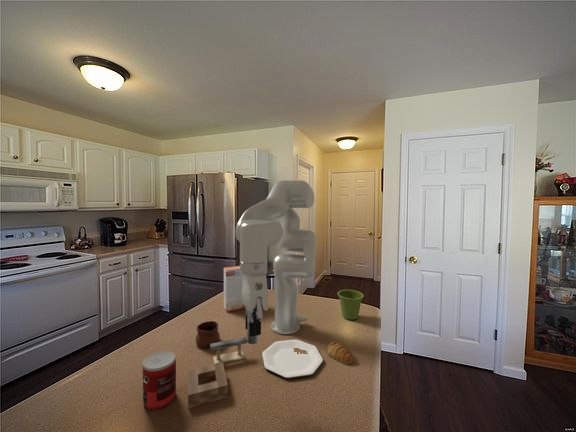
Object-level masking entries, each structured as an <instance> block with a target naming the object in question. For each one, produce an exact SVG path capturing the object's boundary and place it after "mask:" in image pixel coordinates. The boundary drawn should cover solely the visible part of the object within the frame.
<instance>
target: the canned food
mask: <svg viewBox="0 0 576 432" xmlns="http://www.w3.org/2000/svg"><path fill="white" fill-rule="evenodd" d="M176 394H177V357H176V354H175V352H173V351H169V350H165V351H164V350H163V351H158V352H154V353H152V354H151V355H149V356H147V357H146V358H145V359H144V360H143V362H142V403H143V406H144V407H145V408H146V409H147V410H151V411H152V410H153V411H155V410H160V409H163V408H165V407H167V406H169V405H170V404H171V403H172V402H173V400H174V399H175V397H176Z"/></svg>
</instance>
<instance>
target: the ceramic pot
mask: <svg viewBox="0 0 576 432" xmlns="http://www.w3.org/2000/svg"><path fill="white" fill-rule="evenodd" d="M196 332H197V333H196V336H195V343H196V346H197V347H198V348H199V347H200V349H211V348H210V344H212V343H217V342H220V337H221V336H220V332H219V323H218V322H217V321H213V320H210V321H204V322H200V324H198V325H197V326H196Z"/></svg>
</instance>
